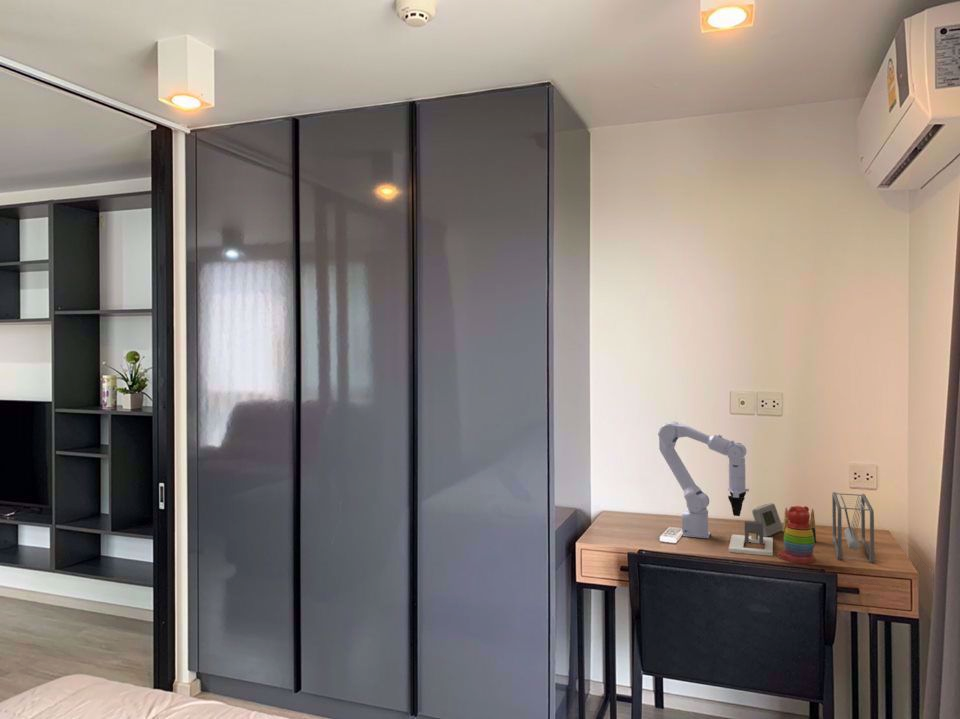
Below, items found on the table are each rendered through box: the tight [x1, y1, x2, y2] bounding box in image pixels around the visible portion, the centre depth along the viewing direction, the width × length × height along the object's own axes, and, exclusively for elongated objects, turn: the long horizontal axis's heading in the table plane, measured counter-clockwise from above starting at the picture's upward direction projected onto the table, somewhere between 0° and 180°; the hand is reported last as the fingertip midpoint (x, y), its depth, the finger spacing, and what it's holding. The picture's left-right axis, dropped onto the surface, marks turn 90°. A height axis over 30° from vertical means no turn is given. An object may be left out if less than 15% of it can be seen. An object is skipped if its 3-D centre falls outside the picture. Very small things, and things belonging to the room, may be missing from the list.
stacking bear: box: [777, 505, 816, 564], centre depth 231 cm, size 11×10×18 cm
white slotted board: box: [728, 533, 774, 557], centre depth 247 cm, size 14×20×6 cm
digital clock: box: [751, 502, 784, 538], centre depth 264 cm, size 16×9×11 cm, turn 122°
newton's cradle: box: [831, 491, 875, 564], centre depth 240 cm, size 30×10×18 cm, turn 156°
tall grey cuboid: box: [744, 520, 764, 545], centre depth 244 cm, size 6×2×7 cm, turn 67°
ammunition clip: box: [782, 507, 817, 543], centre depth 253 cm, size 11×2×12 cm, turn 74°
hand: (737, 513), depth 255 cm, fingers open, 7 cm apart
